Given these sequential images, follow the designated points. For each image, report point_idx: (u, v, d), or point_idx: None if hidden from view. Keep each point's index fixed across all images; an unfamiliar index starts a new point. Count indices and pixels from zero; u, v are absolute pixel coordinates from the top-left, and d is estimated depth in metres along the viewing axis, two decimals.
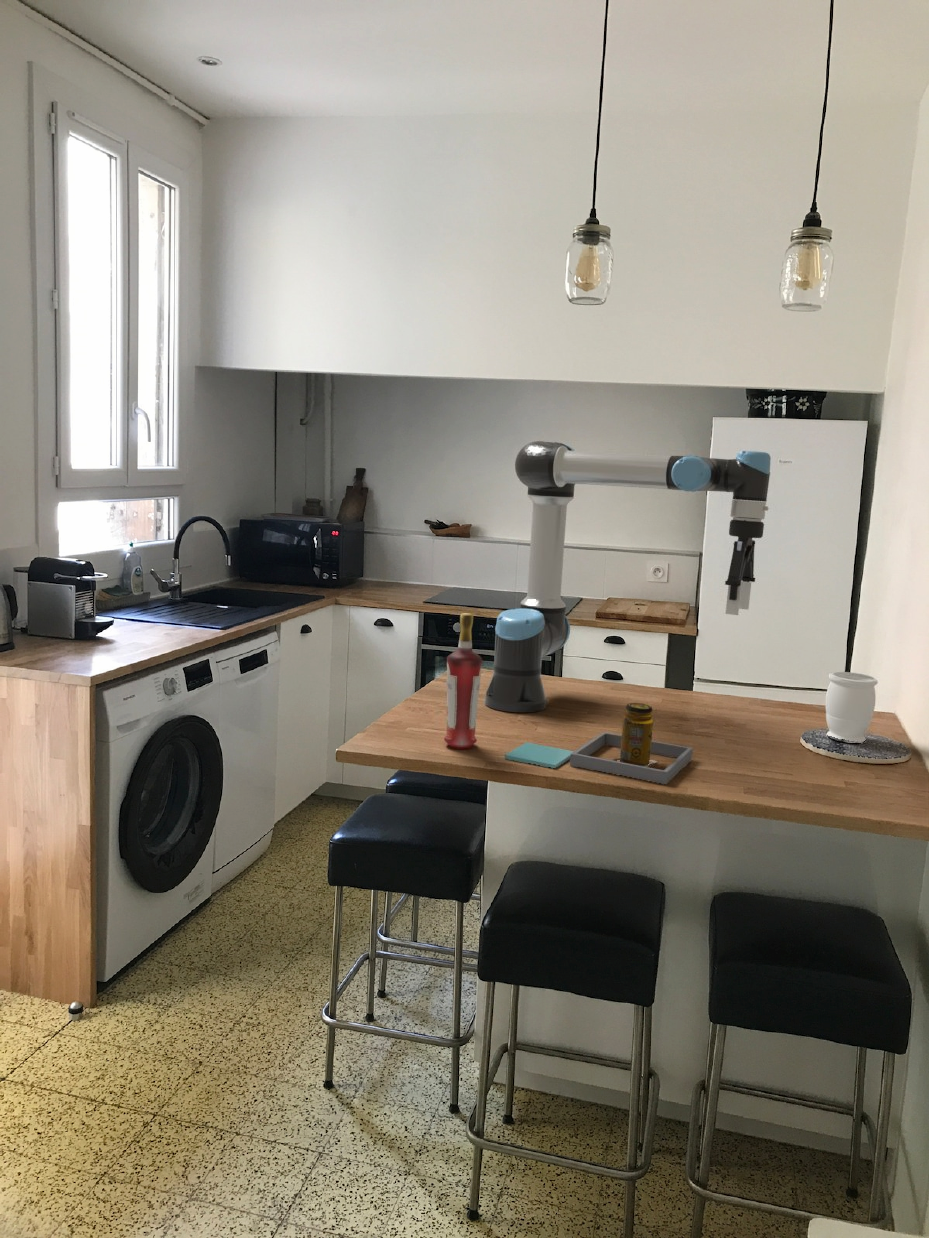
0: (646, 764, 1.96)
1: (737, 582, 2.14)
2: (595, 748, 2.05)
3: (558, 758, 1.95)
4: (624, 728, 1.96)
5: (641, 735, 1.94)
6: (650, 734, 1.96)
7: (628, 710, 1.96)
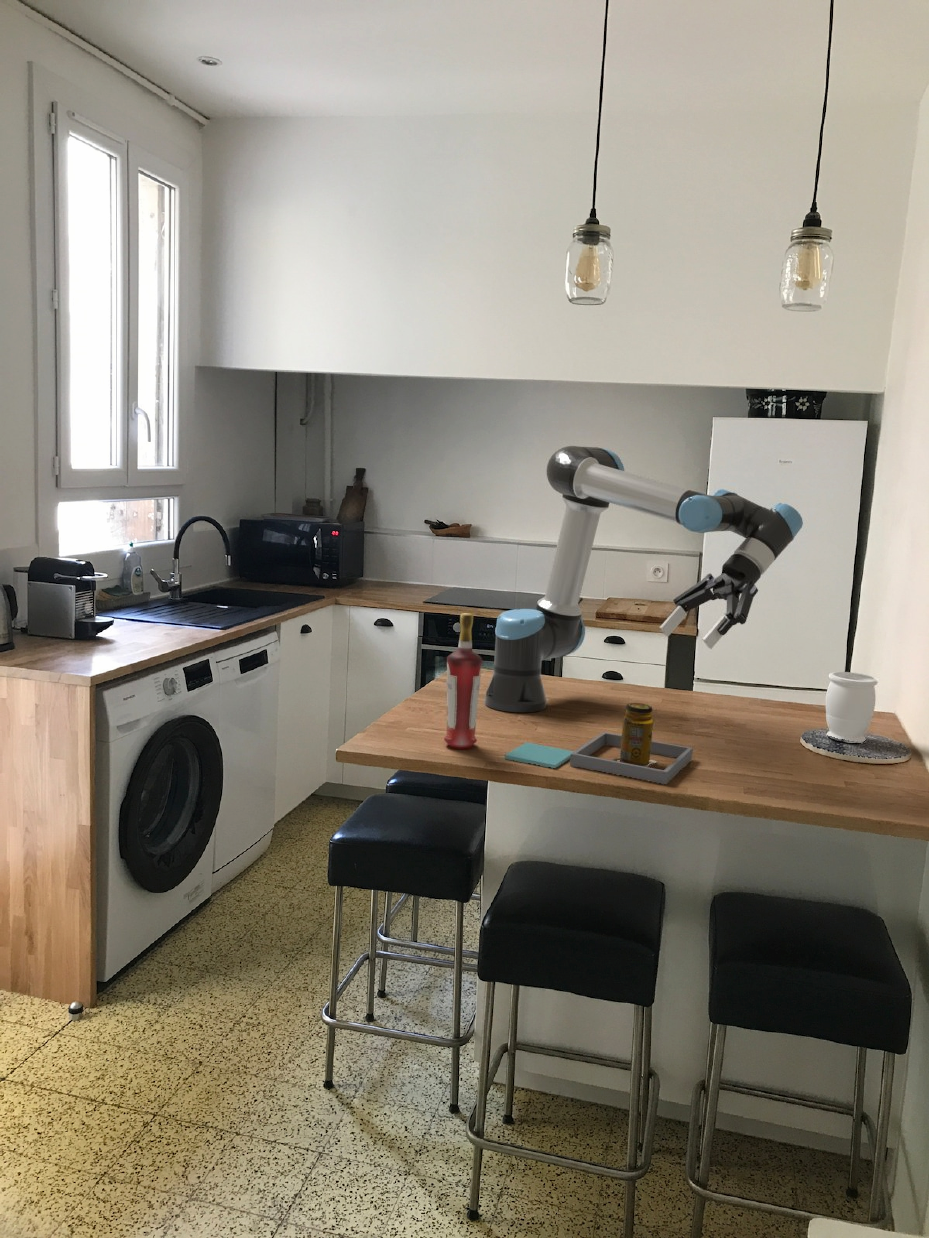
0: (646, 764, 1.96)
1: (743, 622, 1.92)
2: (595, 748, 2.05)
3: (558, 758, 1.95)
4: (624, 728, 1.96)
5: (641, 735, 1.94)
6: (650, 734, 1.96)
7: (628, 710, 1.96)
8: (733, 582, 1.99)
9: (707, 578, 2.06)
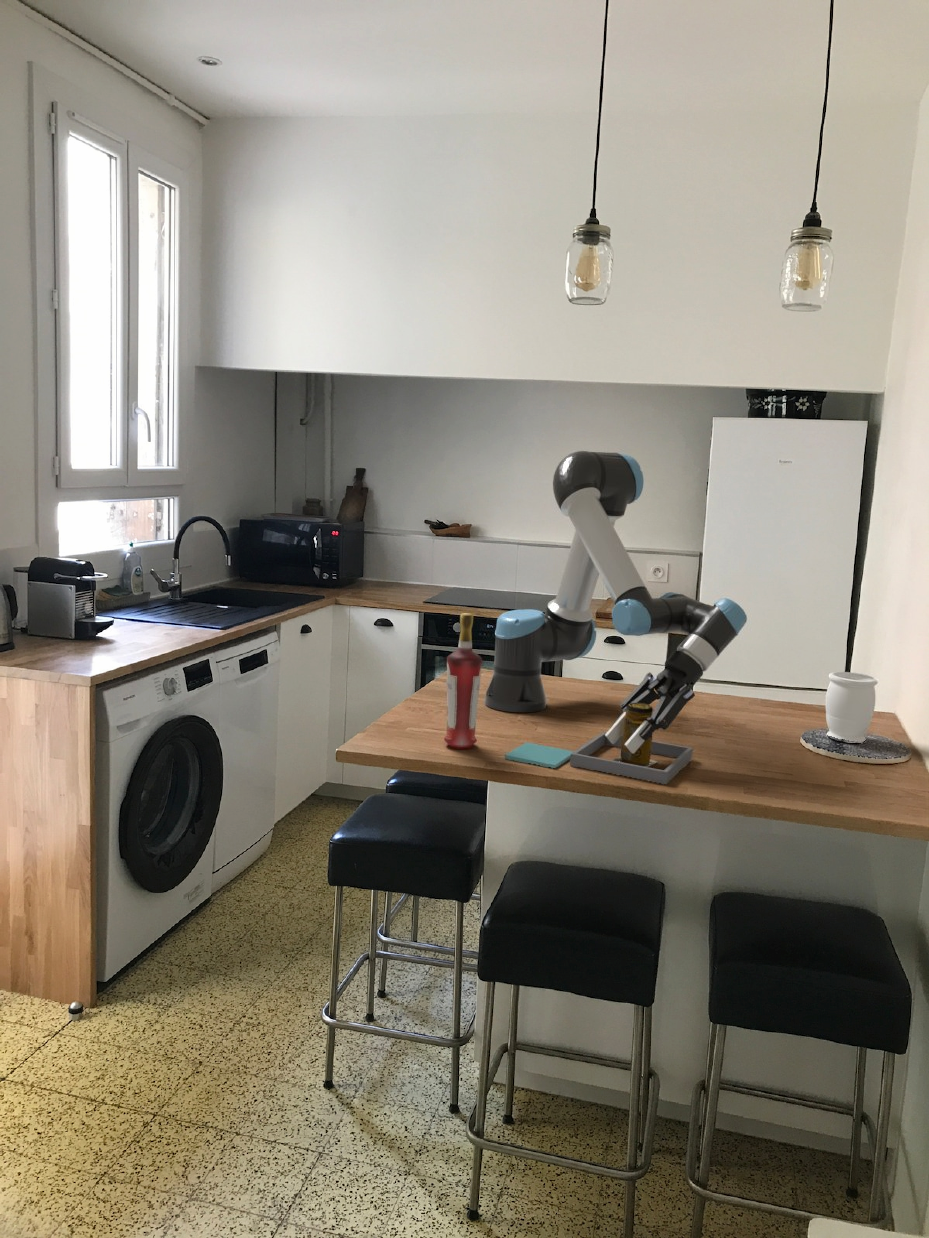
0: (646, 764, 1.96)
1: (664, 728, 1.92)
2: (595, 748, 2.05)
3: (558, 758, 1.95)
4: (624, 728, 1.96)
5: None
6: None
7: (628, 710, 1.95)
8: (674, 682, 1.97)
9: (648, 677, 2.03)
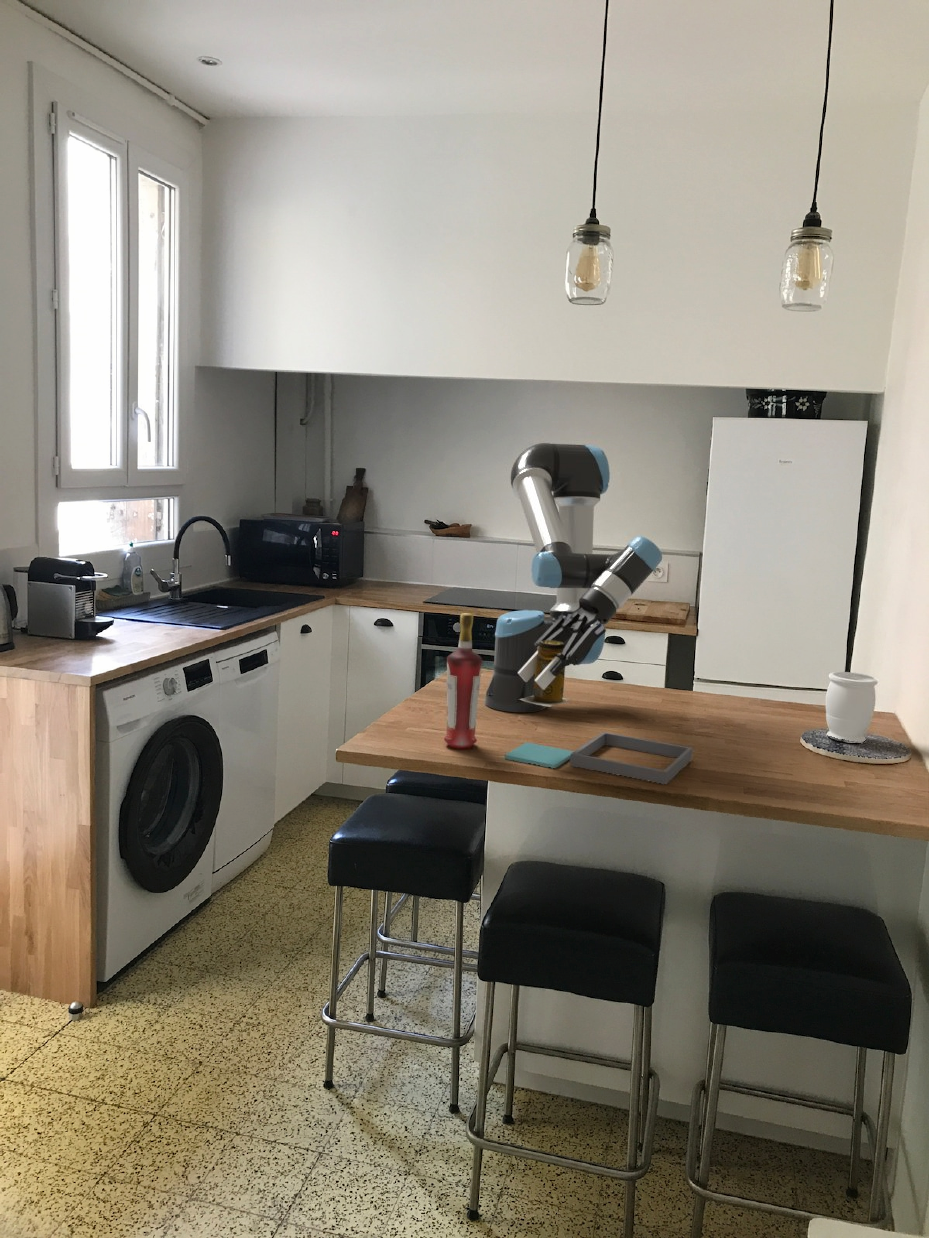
0: (559, 701, 1.95)
1: (574, 664, 1.90)
2: (595, 748, 2.05)
3: (558, 758, 1.95)
4: (536, 665, 1.95)
5: None
6: (562, 671, 1.94)
7: (540, 647, 1.94)
8: (586, 618, 1.95)
9: (563, 616, 2.02)
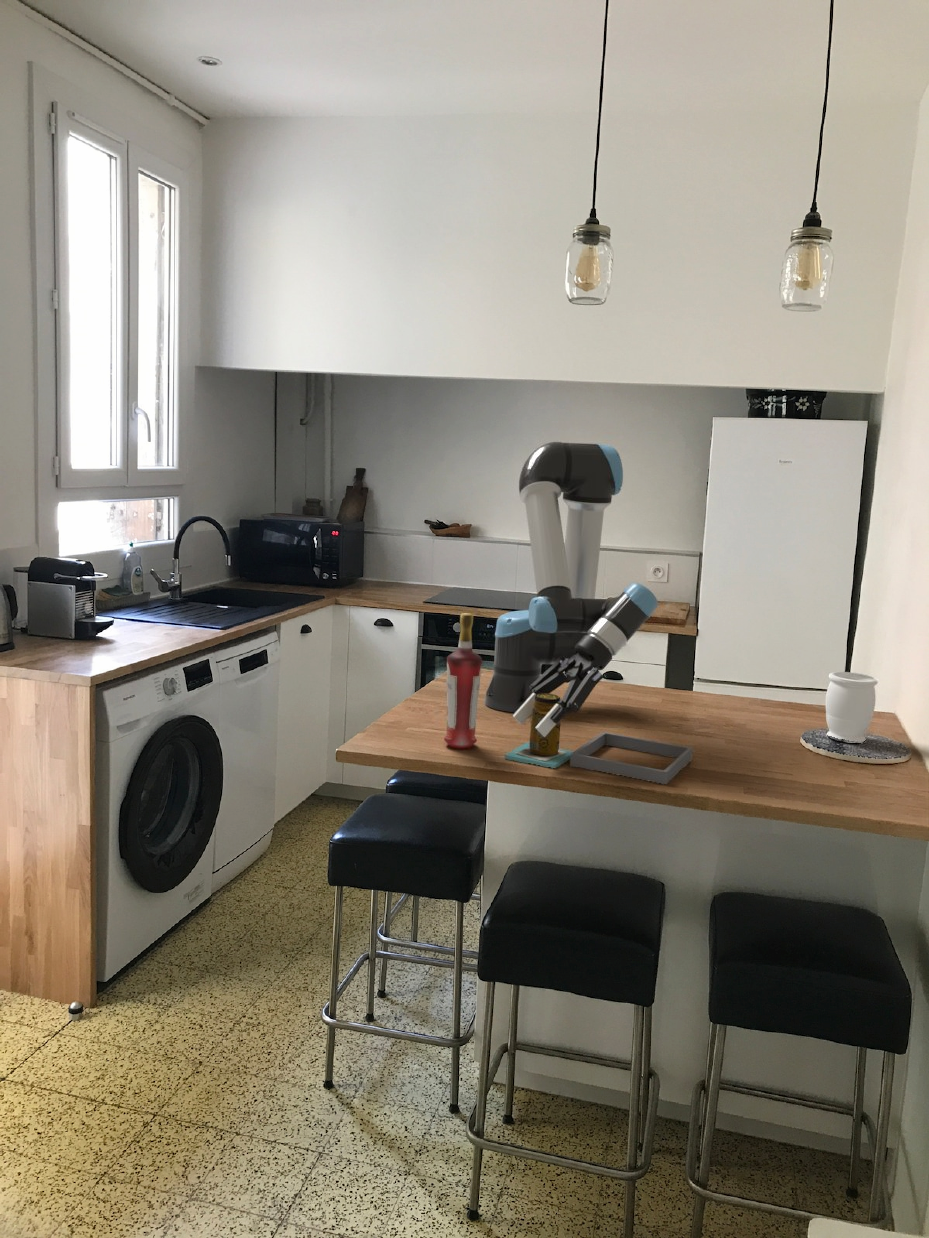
0: (554, 754, 1.97)
1: (575, 711, 1.91)
2: (595, 748, 2.05)
3: (558, 758, 1.95)
4: (532, 718, 1.97)
5: None
6: (558, 724, 1.96)
7: (536, 701, 1.96)
8: (582, 665, 1.97)
9: (560, 660, 2.03)
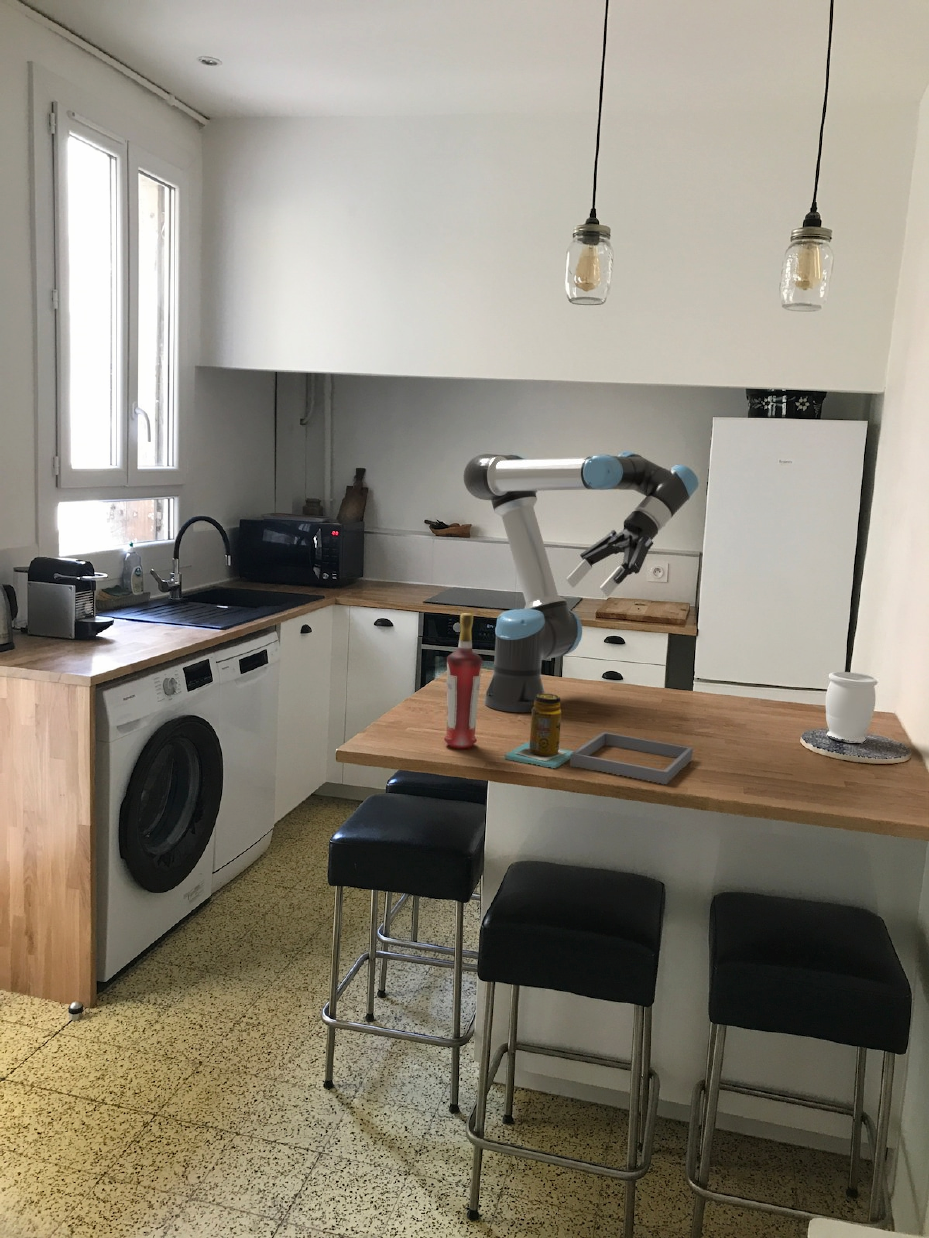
0: (554, 754, 1.97)
1: (637, 572, 2.08)
2: (595, 748, 2.05)
3: (558, 758, 1.95)
4: (532, 718, 1.97)
5: (548, 725, 1.95)
6: (558, 725, 1.96)
7: (536, 701, 1.96)
8: (632, 536, 2.16)
9: (611, 534, 2.23)
